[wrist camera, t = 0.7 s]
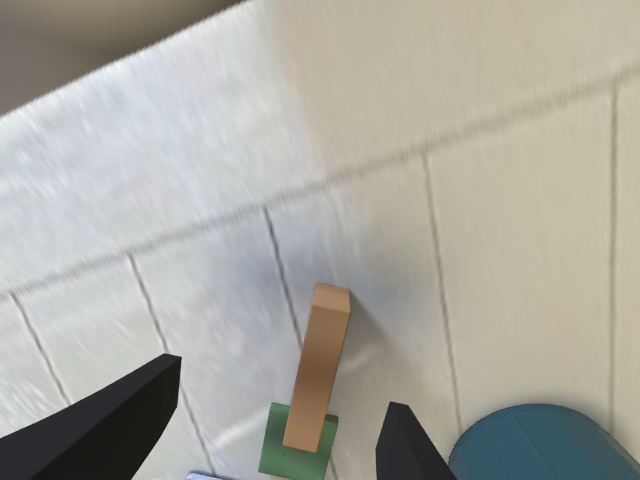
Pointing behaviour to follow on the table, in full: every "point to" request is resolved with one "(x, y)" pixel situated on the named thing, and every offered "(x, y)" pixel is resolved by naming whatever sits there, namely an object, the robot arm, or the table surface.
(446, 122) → the table surface
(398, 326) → the table surface
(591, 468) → the pot
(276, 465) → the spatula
